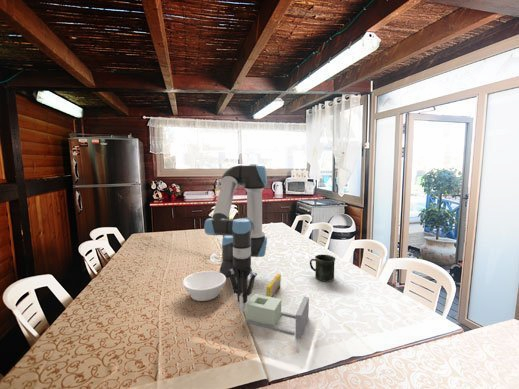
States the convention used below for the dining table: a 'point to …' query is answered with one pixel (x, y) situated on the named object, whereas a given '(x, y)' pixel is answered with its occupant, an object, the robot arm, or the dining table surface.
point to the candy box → (273, 286)
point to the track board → (300, 316)
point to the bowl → (204, 285)
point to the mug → (324, 267)
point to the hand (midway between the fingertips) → (242, 309)
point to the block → (264, 309)
